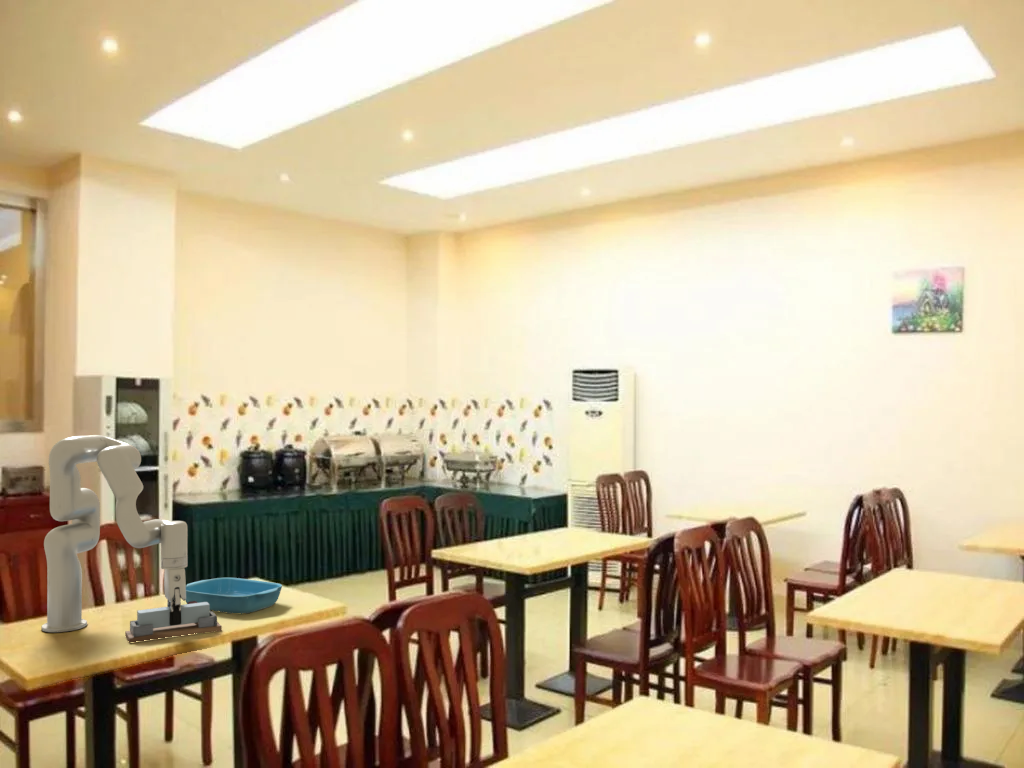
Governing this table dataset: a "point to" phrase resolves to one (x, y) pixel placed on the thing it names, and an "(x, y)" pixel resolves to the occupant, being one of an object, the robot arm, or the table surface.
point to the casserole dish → (234, 594)
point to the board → (173, 631)
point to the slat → (162, 615)
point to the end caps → (148, 628)
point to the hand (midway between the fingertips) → (174, 622)
